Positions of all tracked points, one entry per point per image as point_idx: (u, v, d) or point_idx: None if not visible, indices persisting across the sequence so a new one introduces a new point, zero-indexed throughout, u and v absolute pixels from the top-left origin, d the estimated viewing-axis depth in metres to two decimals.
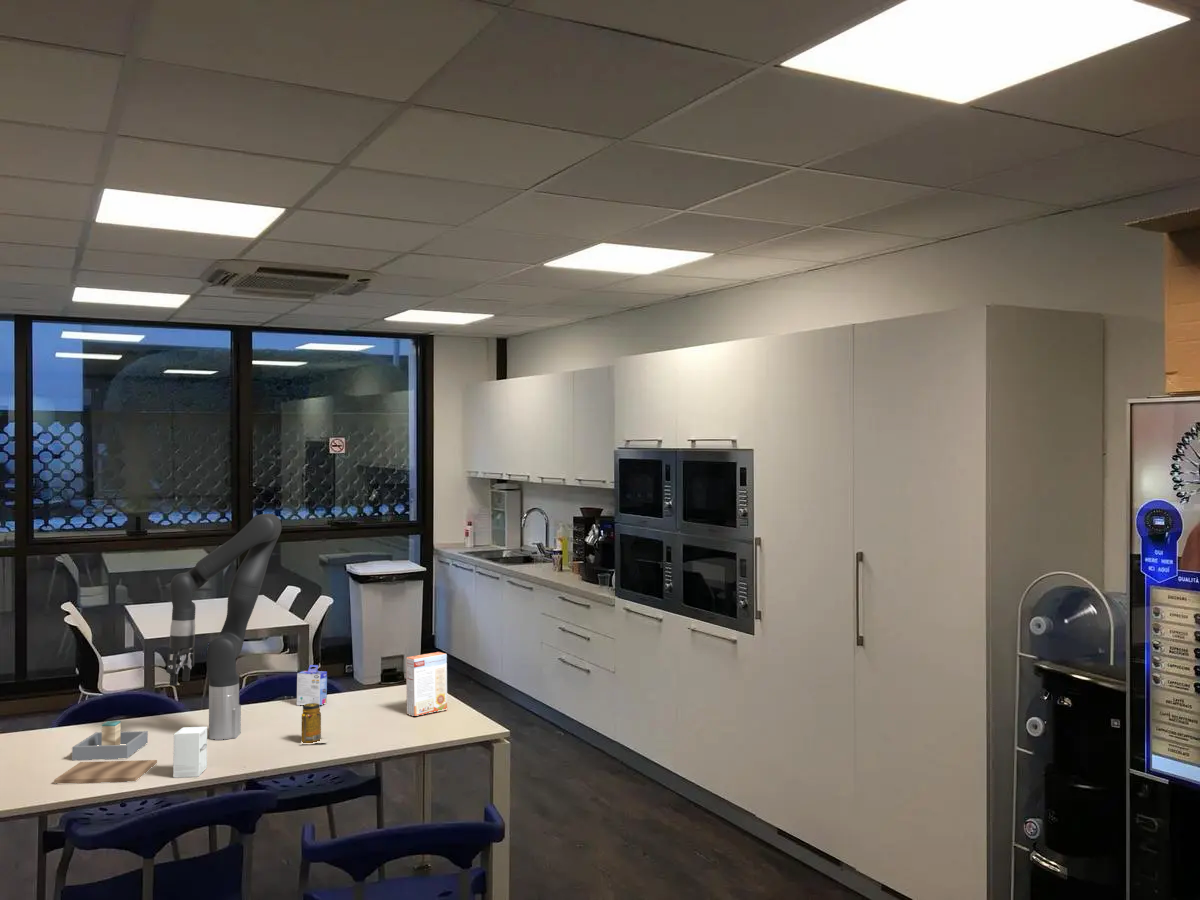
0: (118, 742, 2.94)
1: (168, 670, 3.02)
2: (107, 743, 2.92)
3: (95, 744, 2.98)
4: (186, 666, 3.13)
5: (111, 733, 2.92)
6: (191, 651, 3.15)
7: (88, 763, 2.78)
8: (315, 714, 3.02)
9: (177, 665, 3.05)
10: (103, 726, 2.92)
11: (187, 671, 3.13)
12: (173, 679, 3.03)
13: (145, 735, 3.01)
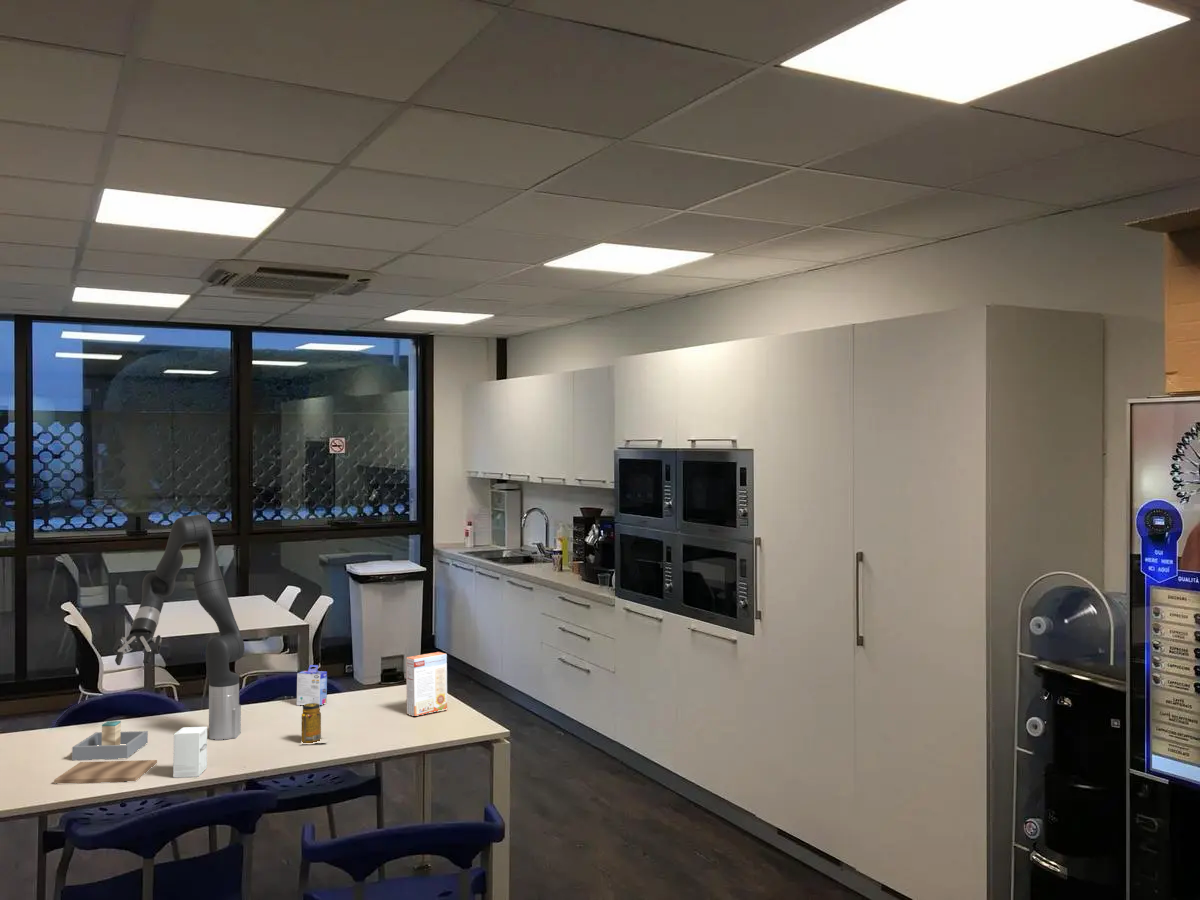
0: (118, 742, 2.94)
1: None
2: (107, 743, 2.92)
3: (95, 744, 2.98)
4: None
5: (111, 733, 2.92)
6: None
7: (88, 763, 2.78)
8: (315, 714, 3.02)
9: None
10: (103, 726, 2.92)
11: None
12: None
13: (145, 735, 3.01)
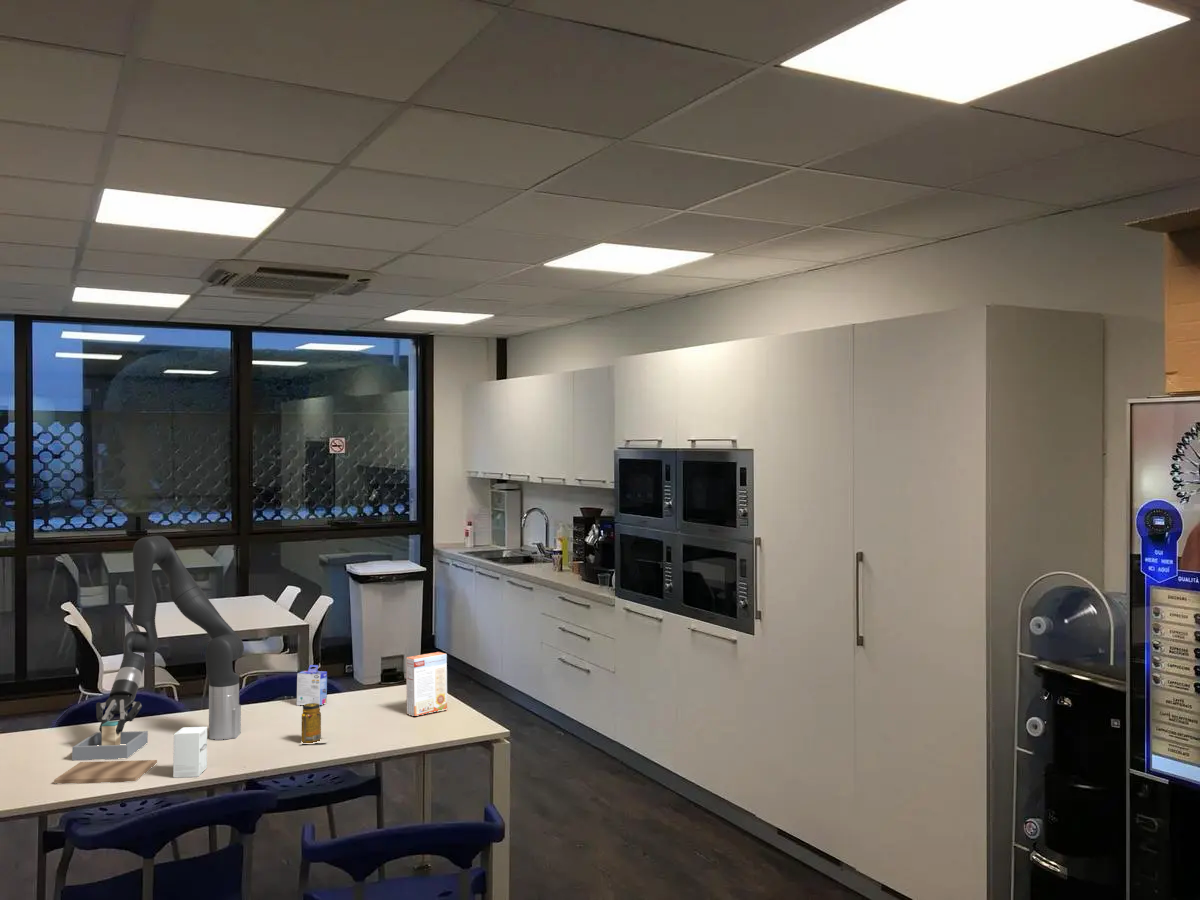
0: (118, 742, 2.94)
1: None
2: (107, 743, 2.92)
3: (95, 744, 2.98)
4: None
5: (111, 733, 2.92)
6: None
7: (88, 763, 2.78)
8: (315, 714, 3.02)
9: None
10: (103, 726, 2.92)
11: None
12: None
13: (145, 735, 3.01)
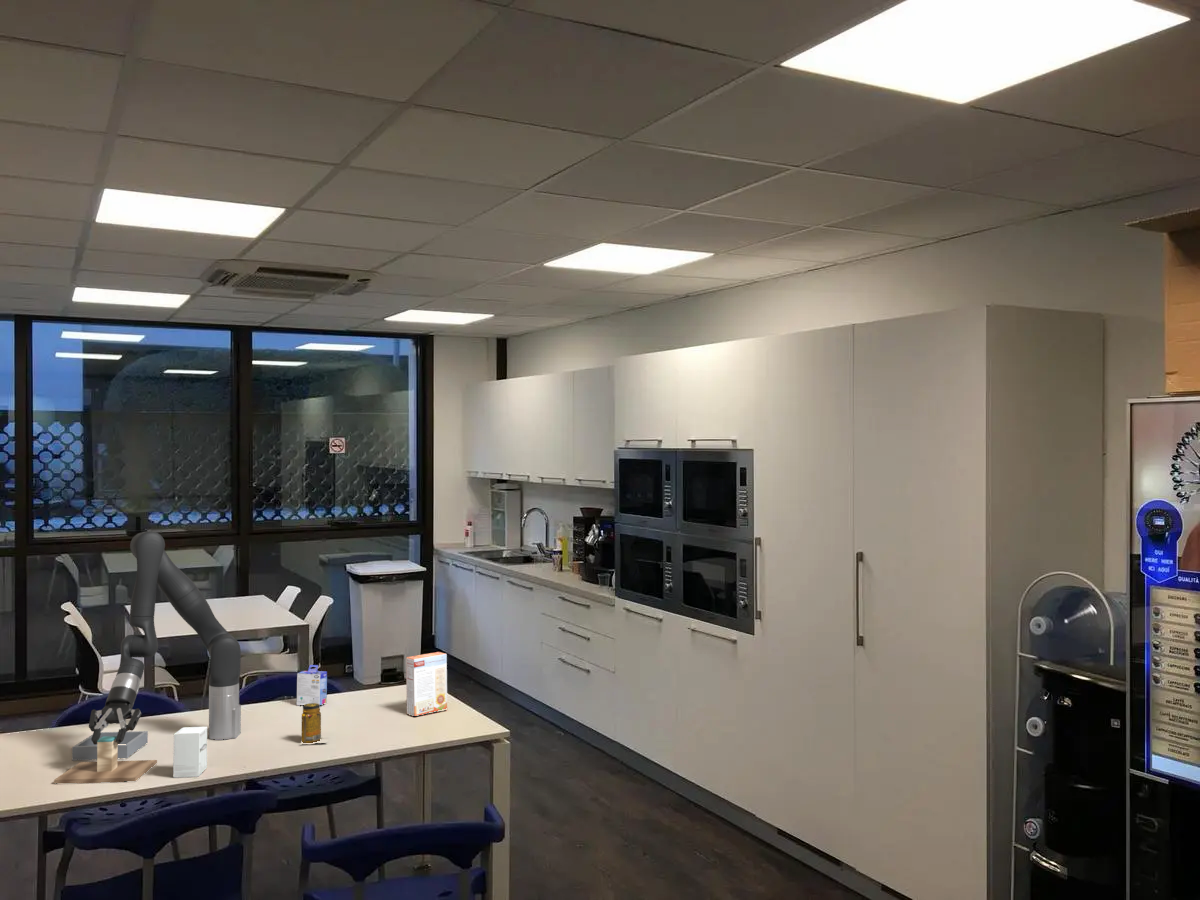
0: (115, 759, 2.73)
1: None
2: (103, 760, 2.70)
3: (95, 744, 2.98)
4: None
5: (107, 749, 2.71)
6: None
7: (88, 763, 2.78)
8: (315, 714, 3.02)
9: None
10: (99, 742, 2.70)
11: None
12: None
13: (145, 735, 3.01)
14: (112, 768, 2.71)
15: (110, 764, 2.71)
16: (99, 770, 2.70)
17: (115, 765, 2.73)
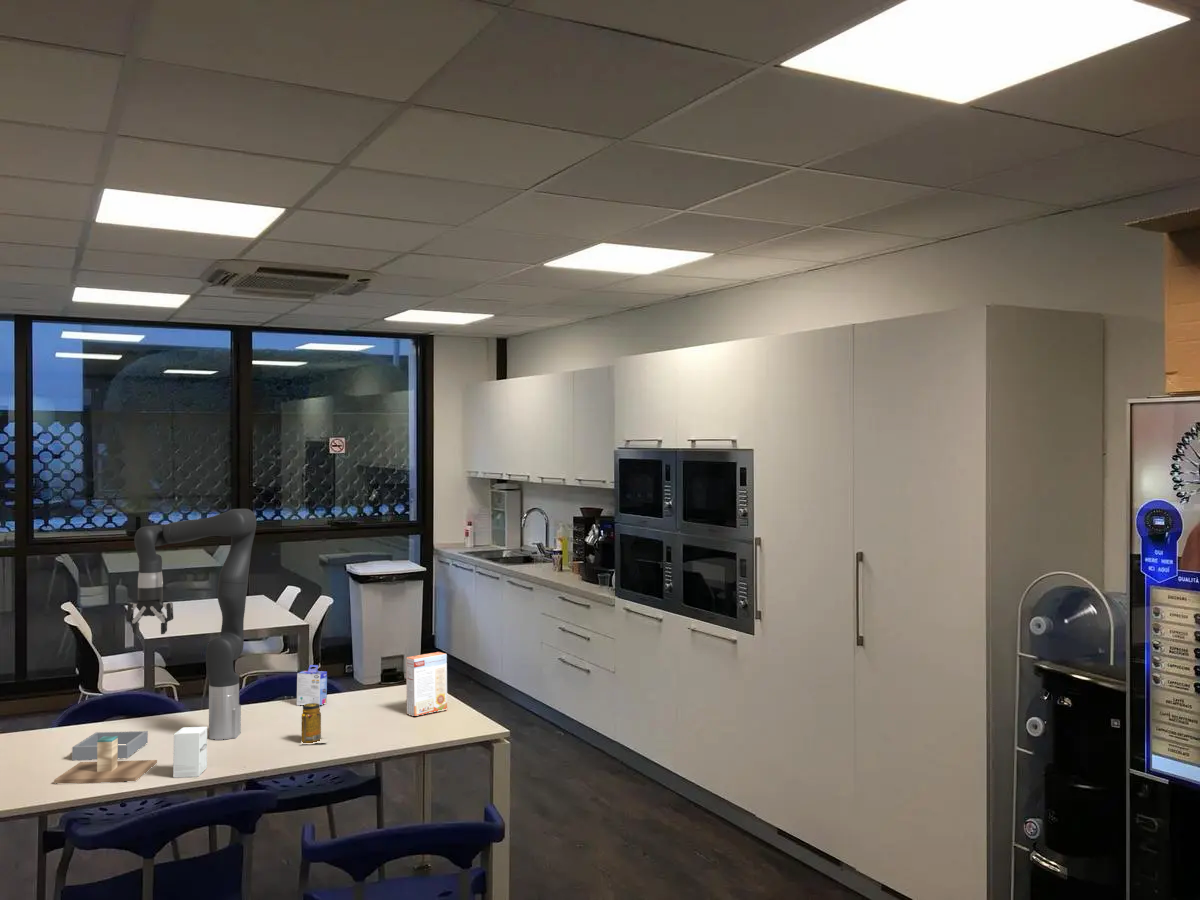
0: (115, 759, 2.73)
1: None
2: (103, 760, 2.70)
3: (95, 744, 2.98)
4: None
5: (107, 749, 2.71)
6: None
7: (88, 763, 2.78)
8: (315, 714, 3.02)
9: None
10: (99, 742, 2.70)
11: None
12: None
13: (145, 735, 3.01)
14: (112, 768, 2.71)
15: (110, 764, 2.71)
16: (99, 770, 2.70)
17: (115, 765, 2.73)
